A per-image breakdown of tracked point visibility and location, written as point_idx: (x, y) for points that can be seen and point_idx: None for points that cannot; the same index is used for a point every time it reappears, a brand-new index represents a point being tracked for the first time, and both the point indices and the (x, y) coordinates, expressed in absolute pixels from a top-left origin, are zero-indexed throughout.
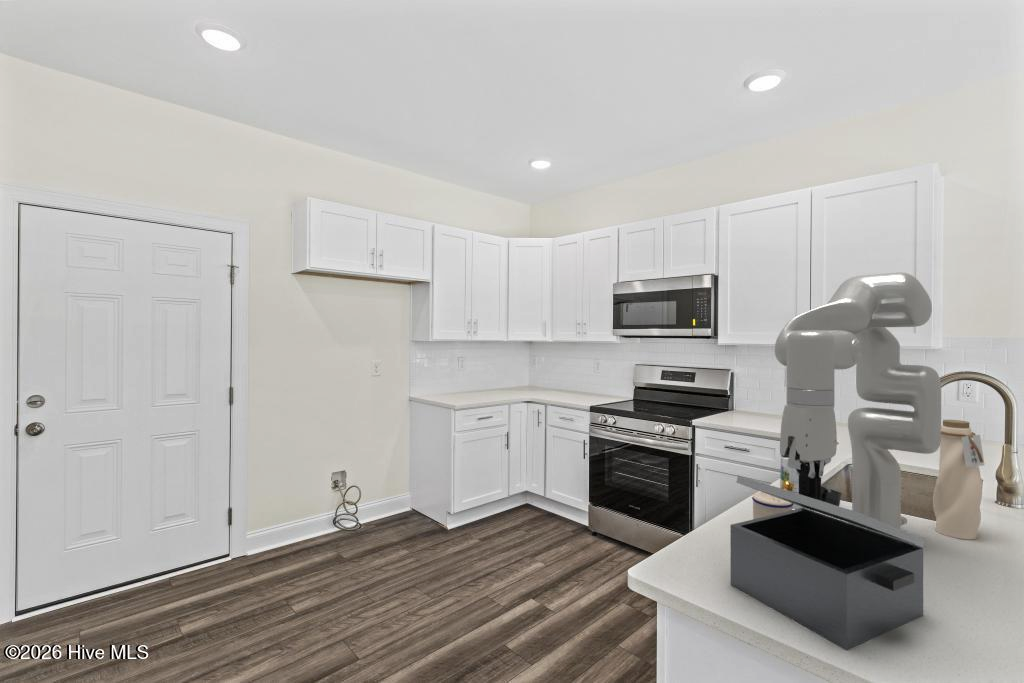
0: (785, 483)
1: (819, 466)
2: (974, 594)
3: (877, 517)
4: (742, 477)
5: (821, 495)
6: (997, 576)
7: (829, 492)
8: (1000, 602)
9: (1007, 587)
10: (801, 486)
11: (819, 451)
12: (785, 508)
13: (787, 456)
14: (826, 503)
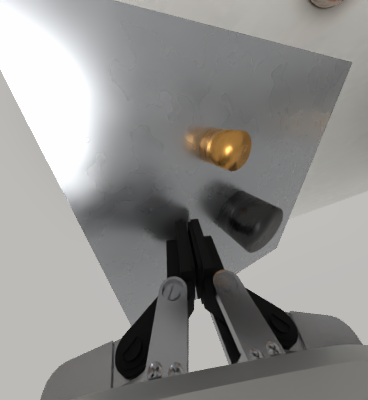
0: (216, 154)
1: (223, 345)
2: (301, 199)
3: None
4: None
5: (229, 228)
6: (351, 189)
7: (240, 244)
8: (299, 210)
9: (331, 200)
10: (167, 253)
11: None
12: None
13: (109, 396)
14: (126, 314)
